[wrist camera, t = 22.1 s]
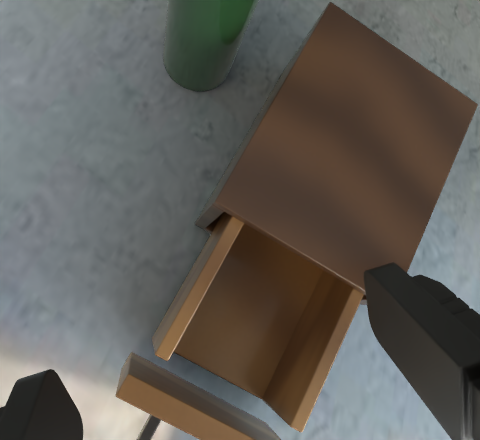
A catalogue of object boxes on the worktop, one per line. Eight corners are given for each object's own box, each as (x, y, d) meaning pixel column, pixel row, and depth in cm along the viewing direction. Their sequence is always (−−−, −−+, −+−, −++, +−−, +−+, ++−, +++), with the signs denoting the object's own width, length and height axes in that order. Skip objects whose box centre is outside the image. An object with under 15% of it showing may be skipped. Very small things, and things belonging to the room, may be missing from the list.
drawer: (229, 501, 27) (258, 571, 20) (85, 430, 26) (66, 481, 19) (340, 264, 31) (393, 259, 25) (222, 193, 30) (244, 168, 23)
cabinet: (326, 301, 31) (392, 308, 23) (194, 224, 30) (214, 201, 22) (398, 146, 35) (478, 104, 27) (283, 70, 34) (330, 0, 25)
